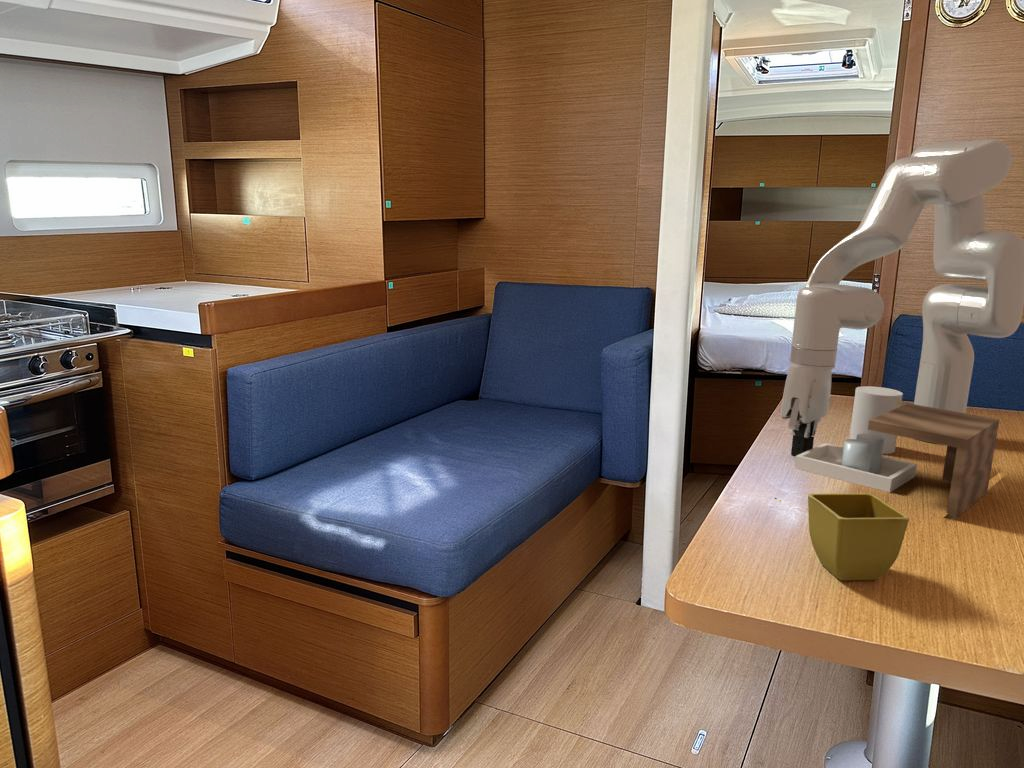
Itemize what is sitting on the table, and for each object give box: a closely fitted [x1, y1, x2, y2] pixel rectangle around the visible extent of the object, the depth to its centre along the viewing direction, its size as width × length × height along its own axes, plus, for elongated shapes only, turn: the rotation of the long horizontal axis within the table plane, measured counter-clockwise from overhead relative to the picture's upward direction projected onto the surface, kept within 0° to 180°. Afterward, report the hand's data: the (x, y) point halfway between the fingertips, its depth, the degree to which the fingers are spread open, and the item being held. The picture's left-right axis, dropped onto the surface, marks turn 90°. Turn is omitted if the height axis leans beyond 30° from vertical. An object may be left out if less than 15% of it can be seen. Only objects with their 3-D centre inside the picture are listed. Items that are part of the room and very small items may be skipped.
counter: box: [868, 402, 1000, 521], centre depth 124 cm, size 18×14×12 cm
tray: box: [793, 442, 918, 493], centre depth 133 cm, size 12×16×3 cm
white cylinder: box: [848, 385, 904, 455], centre depth 147 cm, size 8×8×12 cm
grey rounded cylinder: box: [856, 434, 884, 474], centre depth 134 cm, size 4×4×6 cm
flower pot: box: [807, 492, 910, 581], centre depth 95 cm, size 9×9×9 cm
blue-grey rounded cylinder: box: [841, 438, 873, 472], centre depth 130 cm, size 4×4×6 cm
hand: (801, 456), depth 140 cm, fingers closed
